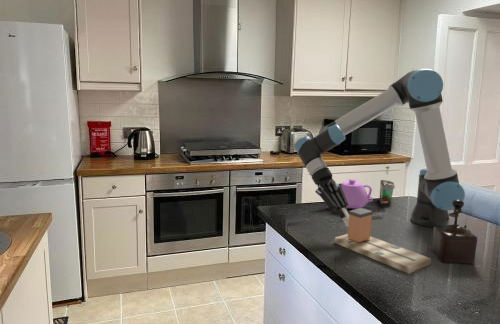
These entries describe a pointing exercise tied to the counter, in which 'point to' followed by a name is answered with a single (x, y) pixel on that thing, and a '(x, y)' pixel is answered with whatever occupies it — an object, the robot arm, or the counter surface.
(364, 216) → the fader knob
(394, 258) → the fader board
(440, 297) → the counter surface
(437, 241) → the coffee grinder
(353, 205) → the teapot
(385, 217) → the counter surface
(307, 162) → the robot arm
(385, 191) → the food container
